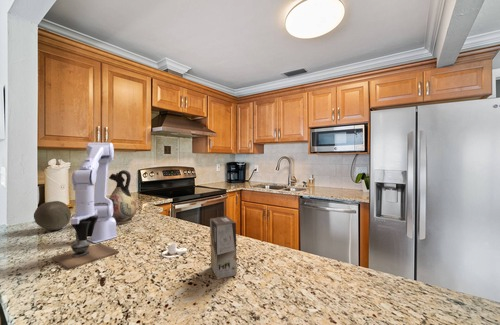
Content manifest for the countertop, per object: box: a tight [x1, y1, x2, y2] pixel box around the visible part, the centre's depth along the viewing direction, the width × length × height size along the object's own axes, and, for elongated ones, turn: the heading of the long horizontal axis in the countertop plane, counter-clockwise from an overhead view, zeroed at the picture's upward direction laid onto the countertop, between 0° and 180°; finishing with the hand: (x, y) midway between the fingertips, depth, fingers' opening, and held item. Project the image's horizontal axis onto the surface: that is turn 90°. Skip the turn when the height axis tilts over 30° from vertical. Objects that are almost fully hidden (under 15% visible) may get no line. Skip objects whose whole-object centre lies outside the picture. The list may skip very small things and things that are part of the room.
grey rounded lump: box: [33, 200, 72, 231], centre depth 118 cm, size 14×14×15 cm
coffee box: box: [209, 216, 238, 280], centre depth 73 cm, size 9×6×16 cm
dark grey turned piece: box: [70, 233, 91, 257], centre depth 85 cm, size 6×6×12 cm
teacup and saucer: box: [161, 241, 187, 258], centre depth 87 cm, size 9×8×4 cm
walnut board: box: [51, 242, 120, 271], centre depth 86 cm, size 16×16×1 cm
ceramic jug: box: [108, 169, 137, 225], centre depth 131 cm, size 17×15×30 cm
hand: (85, 238), depth 86 cm, fingers closed on dark grey turned piece, 3 cm apart
